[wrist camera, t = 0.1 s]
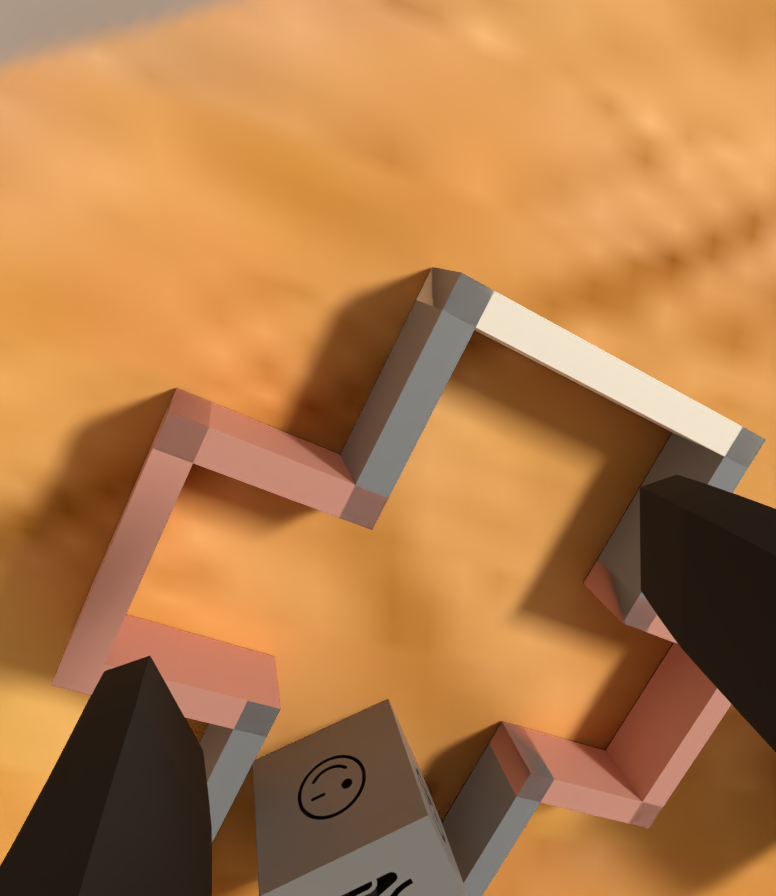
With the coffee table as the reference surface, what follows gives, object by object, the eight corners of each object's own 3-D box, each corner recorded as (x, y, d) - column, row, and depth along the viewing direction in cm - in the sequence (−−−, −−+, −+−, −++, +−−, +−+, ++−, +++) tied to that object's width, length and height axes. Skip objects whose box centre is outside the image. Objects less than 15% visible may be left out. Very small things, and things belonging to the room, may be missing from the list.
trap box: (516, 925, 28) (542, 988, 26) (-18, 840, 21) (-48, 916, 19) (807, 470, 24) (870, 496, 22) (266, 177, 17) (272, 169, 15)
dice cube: (387, 696, 23) (427, 815, 18) (431, 794, 25) (478, 924, 20) (252, 759, 22) (258, 897, 18) (307, 853, 24) (326, 1001, 20)
